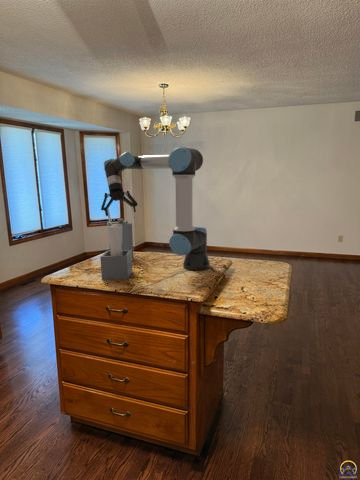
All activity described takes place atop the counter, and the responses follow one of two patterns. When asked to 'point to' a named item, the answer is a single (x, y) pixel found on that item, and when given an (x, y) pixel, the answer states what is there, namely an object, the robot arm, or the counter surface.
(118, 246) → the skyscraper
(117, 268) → the grey open box
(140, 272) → the counter surface
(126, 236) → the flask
